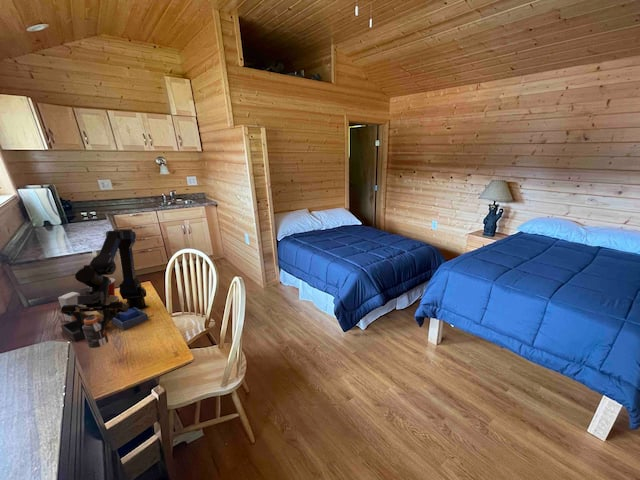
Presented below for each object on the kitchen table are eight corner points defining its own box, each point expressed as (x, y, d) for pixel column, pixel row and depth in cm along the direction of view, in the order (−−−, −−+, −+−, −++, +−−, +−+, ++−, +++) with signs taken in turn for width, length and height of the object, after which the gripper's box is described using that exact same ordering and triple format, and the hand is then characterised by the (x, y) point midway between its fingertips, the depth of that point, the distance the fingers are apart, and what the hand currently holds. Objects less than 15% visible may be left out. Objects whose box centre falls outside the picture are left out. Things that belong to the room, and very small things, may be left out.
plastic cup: (107, 296, 156) (101, 275, 151) (126, 299, 155) (120, 278, 150) (86, 306, 146) (79, 284, 141) (106, 309, 145) (100, 287, 140)
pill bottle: (111, 343, 114) (103, 318, 110) (91, 350, 110) (82, 324, 105) (106, 337, 117) (98, 312, 113) (86, 343, 113) (77, 318, 108)
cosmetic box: (73, 322, 133) (65, 298, 129) (65, 320, 134) (57, 297, 130) (87, 315, 139) (79, 292, 134) (79, 314, 140) (72, 291, 135)
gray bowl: (127, 311, 145) (123, 298, 142) (103, 320, 136) (99, 307, 134) (113, 306, 148) (110, 293, 146) (90, 315, 140) (86, 301, 137)
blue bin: (136, 313, 144) (135, 307, 143) (148, 320, 140) (147, 313, 138) (111, 322, 135) (110, 316, 134) (123, 330, 131) (122, 323, 130)
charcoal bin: (94, 320, 136) (92, 314, 135) (107, 328, 131) (105, 322, 130) (62, 332, 127) (60, 325, 125) (75, 341, 122) (72, 334, 121)
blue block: (130, 317, 140) (128, 308, 138) (138, 319, 139) (136, 310, 137) (121, 322, 136) (119, 313, 134) (129, 324, 135) (127, 315, 133)
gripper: (54, 285, 105) (45, 329, 100) (117, 282, 111) (111, 324, 105) (73, 295, 115) (65, 335, 110) (130, 291, 120) (125, 330, 115)
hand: (92, 331), depth 110 cm, fingers closed on pill bottle, 6 cm apart
